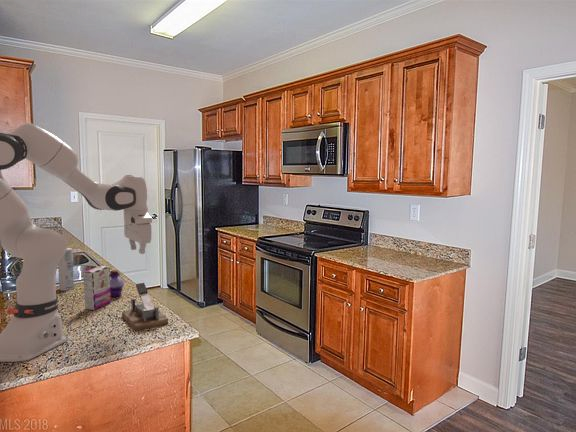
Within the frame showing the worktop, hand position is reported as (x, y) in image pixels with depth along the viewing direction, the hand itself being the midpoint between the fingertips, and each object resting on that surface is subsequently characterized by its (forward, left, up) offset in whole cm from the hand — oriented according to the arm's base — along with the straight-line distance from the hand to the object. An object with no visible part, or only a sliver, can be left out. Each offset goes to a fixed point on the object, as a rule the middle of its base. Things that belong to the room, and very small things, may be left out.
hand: (137, 251), depth 153 cm
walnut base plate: (-4, -4, -26) cm, 27 cm away
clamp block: (-4, -4, -24) cm, 25 cm away
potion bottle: (+24, +23, -27) cm, 43 cm away
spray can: (+32, +52, -27) cm, 67 cm away
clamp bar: (-4, -4, -17) cm, 18 cm away
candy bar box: (+10, +23, -27) cm, 37 cm away
